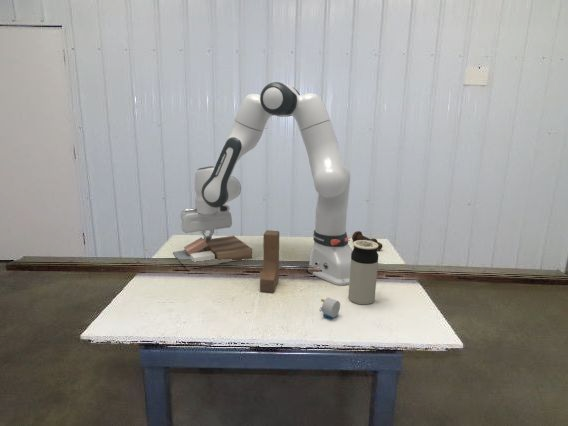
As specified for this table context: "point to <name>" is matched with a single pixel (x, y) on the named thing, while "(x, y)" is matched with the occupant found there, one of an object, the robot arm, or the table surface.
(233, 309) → the table surface
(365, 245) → the travel mug
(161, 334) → the table surface
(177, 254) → the mat
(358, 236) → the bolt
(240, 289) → the table surface
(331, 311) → the electric motor
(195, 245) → the clay tile
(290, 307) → the table surface
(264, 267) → the wooden block
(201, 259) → the cream tile
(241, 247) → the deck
